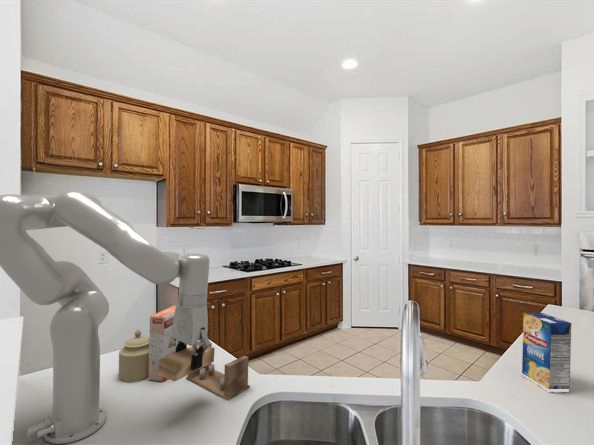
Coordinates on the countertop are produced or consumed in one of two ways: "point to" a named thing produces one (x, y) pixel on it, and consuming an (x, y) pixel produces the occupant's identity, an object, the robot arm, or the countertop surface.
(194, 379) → the rack
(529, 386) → the countertop surface
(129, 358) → the sugar bowl
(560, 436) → the countertop surface
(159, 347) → the cracker box
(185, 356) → the light wood rectangular block
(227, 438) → the countertop surface
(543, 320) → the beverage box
